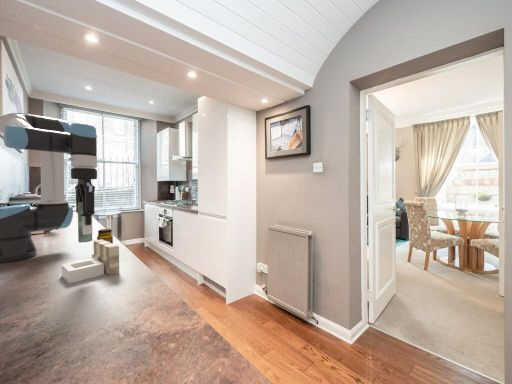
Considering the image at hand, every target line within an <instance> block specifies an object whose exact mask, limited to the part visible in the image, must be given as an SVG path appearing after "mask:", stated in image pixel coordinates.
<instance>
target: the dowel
mask: <svg viewBox="0 0 512 384" xmlns="http://www.w3.org/2000/svg"><path fill="white" fill-rule="evenodd" d="M82 214H83V204H82V202H78V213H77V229H78V230H77V233H78V234H77V235H78V241H77V242H78V243H89V242H92V241H93V233H92V234H87V235H83V230H82V216H81V215H82Z"/></svg>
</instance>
